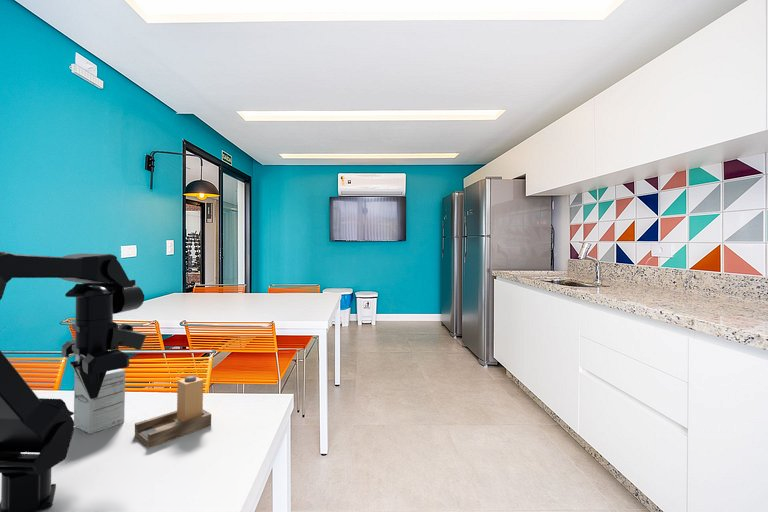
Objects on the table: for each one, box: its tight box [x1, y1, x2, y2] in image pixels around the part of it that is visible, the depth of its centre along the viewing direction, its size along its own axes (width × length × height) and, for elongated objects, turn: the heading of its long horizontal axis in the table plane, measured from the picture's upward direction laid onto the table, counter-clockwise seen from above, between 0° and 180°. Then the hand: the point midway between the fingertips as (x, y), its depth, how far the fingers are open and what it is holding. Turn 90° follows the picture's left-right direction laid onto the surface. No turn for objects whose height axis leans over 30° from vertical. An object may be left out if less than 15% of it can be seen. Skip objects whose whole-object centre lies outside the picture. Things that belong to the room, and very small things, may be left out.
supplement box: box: [73, 368, 126, 435], centre depth 85 cm, size 7×7×13 cm
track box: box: [134, 409, 212, 449], centre depth 83 cm, size 13×8×3 cm, turn 143°
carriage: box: [176, 375, 204, 422], centre depth 86 cm, size 4×4×10 cm
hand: (93, 398), depth 71 cm, fingers closed
